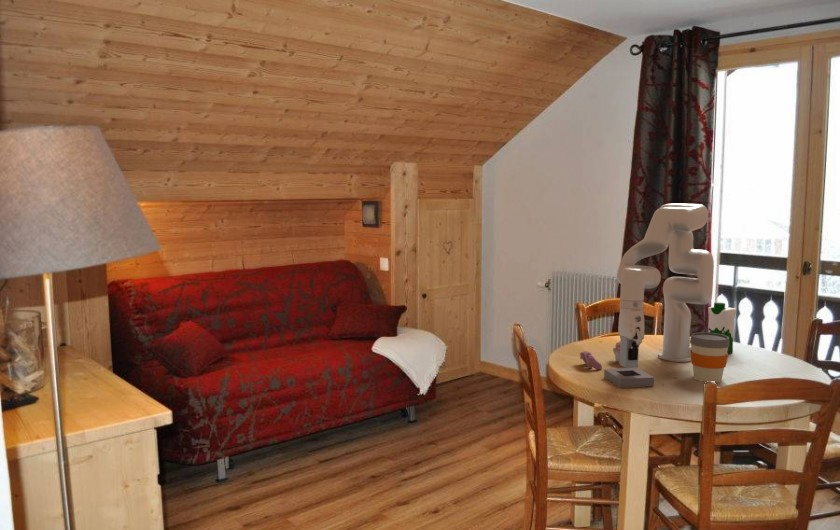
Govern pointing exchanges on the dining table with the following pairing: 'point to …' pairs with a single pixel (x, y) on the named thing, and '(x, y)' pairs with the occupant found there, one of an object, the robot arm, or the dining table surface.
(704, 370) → the reusable coffee cup
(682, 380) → the dining table surface
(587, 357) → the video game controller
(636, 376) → the socket
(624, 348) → the plug
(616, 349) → the cupcake
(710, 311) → the milk carton
